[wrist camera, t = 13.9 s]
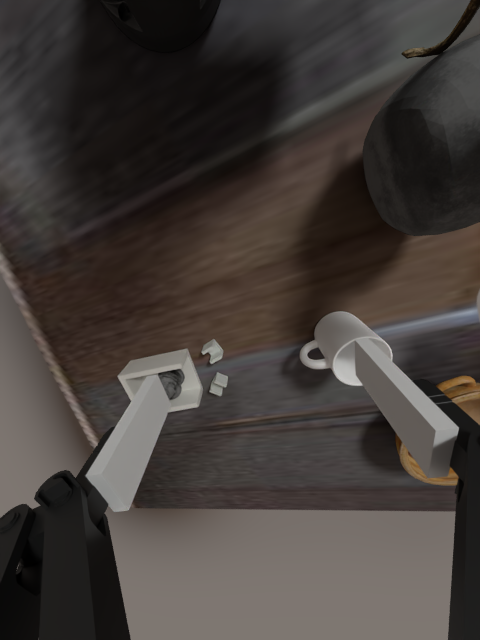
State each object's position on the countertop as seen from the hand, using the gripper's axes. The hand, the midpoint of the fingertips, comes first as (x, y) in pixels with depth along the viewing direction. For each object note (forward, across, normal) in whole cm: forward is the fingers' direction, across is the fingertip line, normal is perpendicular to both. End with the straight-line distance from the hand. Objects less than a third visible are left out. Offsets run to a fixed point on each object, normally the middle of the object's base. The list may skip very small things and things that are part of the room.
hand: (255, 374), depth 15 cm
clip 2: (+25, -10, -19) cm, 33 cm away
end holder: (+25, -20, -16) cm, 36 cm away
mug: (+26, +12, -13) cm, 31 cm away
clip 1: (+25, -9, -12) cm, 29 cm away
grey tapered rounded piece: (+25, -19, -16) cm, 35 cm away
